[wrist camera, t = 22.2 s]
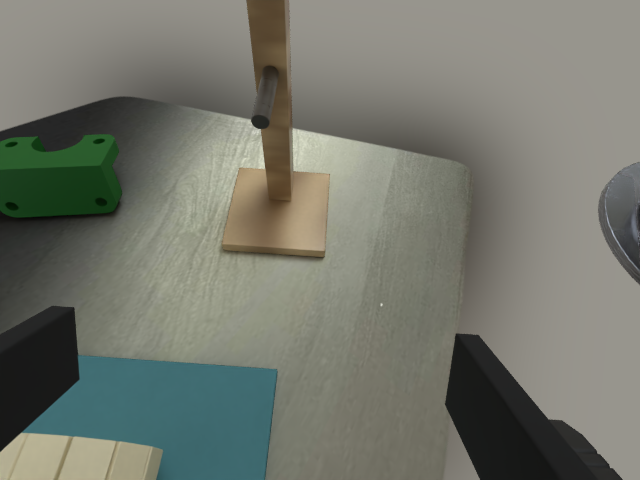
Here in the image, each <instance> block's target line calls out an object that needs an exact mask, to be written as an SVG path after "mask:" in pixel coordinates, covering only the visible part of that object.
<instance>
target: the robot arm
mask: <svg viewBox="0 0 640 480" xmlns="http://www.w3.org/2000/svg"><path fill="white" fill-rule="evenodd" d="M79 380H80V376H79V363H78V350H77V337H76V324H75V311H74V307H60V306H51V307H49V308H47V309H46V310H44V311H42V312H40V313H38V314H37V315H35V316H33V317H31V318H29V319H28V320H26V321H24V322H22V323H20V324H19V325H17V326H15V327H13V328H11V329H10V330H8V331H6V332H4V333H2V334H1V335H0V452H1V451H2V450H3V449H4V448H5V447H6V446H7V445H8V444H10V443H11V442H12V441H13V440H14V439H15V438H16V437H17V436H18V435H19V434H21V433H22V432H23V431H24V430H25V429H26V428H27V427H28V426H29V425H30V424H31V423H33V422H34V421H35V420H36V419H37V418H38V417H39V416H40V415H41V414H42V413H43V412H45V411H46V410H47V409H48V408H49V407H50V406H51V405H52V404H53V403H54V402H56V401H57V400H58V399H59V398H60V397H61V396H62V395H63V394H64V393H65V392H66V391H68V390H69V389H70V388H71V387H72V386H73V385H74V384H75V383H76V382H77V381H79ZM445 405H446V408H447V410H448V412H449V414H450V416H451V418H452V420H453V422H454V425H455V427H456V429H457V431H458V433H459V435H460V437H461V439H462V442H463V444H464V446H465V448H466V450H467V452H468V455H469V457H470V459H471V461H472V463H473V465H474V467H475V470H476V472H477V474H478V476H479V478H480V480H622V478H621V477H620V476H619V475H618V474H617V473H616V472H615V470H614V469H612V468H610V466H609V464H608V463H607V462H606V461H605V459H604V458H603V457H602V456H601V455H600V454H597V451H596V449H594V447H593V446H592V445H591V444H590V443H589V442H588V441H587V440H586V438H585V437H584V436H583V435H582V434H580V433H579V432H578V431H576V430H575V429H573V428H572V427H570V426H569V425H568V424H566V423H565V422H563V421H562V420H548V419H547V417H546V416H545V415H544V414H543V413H542V411H541V410H540V409H539V408H538V406H537V405H536V404H535V403H534V402H533V400H532V399H531V398H530V397H529V396H528V394H527V393H526V392H525V391H524V390H523V388H522V387H521V386H520V385H519V384H518V382H517V381H516V380H515V379H514V377H513V376H512V375H511V374H510V373H509V371H508V370H507V369H506V368H505V367H504V365H503V364H502V363H501V362H500V361H499V359H498V358H497V357H496V356H495V355H494V354H493V352H492V351H491V350H490V349H489V347H488V346H487V345H486V344H485V342H484V341H483V340H482V339H481V338H480V336H479V335H471V334H456V336H455V343H454V349H453V356H452V363H451V369H450V376H449V382H448V389H447V396H446V402H445Z"/></svg>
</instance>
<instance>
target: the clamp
mask: <svg viewBox="0 0 640 480" xmlns="http://www.w3.org/2000/svg"><path fill="white" fill-rule="evenodd" d="M118 153H119V149H118V146H117V144H116V141H115V138H114V137H113V136H112V135H107V134H101V135H84V138H83V139H82V140H81V141H80V142H79V143H78V144H76V145H74V146H72V147H70V148H67V149H64V150H60V151H55V152H46V151H45V149H44V147H43V145H42V143H41V141H40V139H39V137H17V138H10V139H7V140H4V141H2V142H0V211H1V212H2V213H4V214H6V215H8V216H11V217H17V218H20V217H39V216H58V215H77V214H97V213H109V212H112V211H114V210H115V208H116V206H117V204H118V202H119V199H120V197H121V195H122V190H121V187H120V185H119V182H118V180H117V177H116V175H115V173H114V170H113V168H112V165H113V163H114V161H115V159H116V157H117V155H118Z"/></svg>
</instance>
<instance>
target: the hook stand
mask: <svg viewBox="0 0 640 480" xmlns="http://www.w3.org/2000/svg"><path fill="white" fill-rule="evenodd" d="M247 10H248V19H249V27H250V36H251V44H252V53H253V62H254V72H255V81H256V90H257V97H256V102H255V106H254V110H253V114H252V119H251V122H252V124H253V126H254V127H256V128H258V129H261V134H262V143H263V152H264V161H265V169H253V168H239V171H238V175H237V179H236V184H235V188H234V192H233V197H232V201H231V205H230V210H229V214H228V218H227V223H226V227H225V231H224V236H223V240H222V246H223V249H224V250H229V251H243V252H257V253H271V254H285V255H299V256H313V257H325V244H326V228H327V212H328V195H329V179H330V174H323V173H309V172H295V171H293V135H292V96H291V56H290V20H289V19H290V18H289V0H247Z"/></svg>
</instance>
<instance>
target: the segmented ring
mask: <svg viewBox="0 0 640 480" xmlns="http://www.w3.org/2000/svg"><path fill="white" fill-rule="evenodd" d="M162 454H163V450H162V449H159V448H155V447H152V446H147V445H140V444H134V443H127V442H119V441H112V440H103V439H94V438H85V437H76V436H75V437H71V436H63V435H49V434H35V433H21V434H19V435H18V436H17V437H16V438H15V439H14V440H13V441H12V442H11V443H10V444H8V445H7V446H6V447H5V448H4V449H3V450H2V451H1V452H0V480H156V478H157V474H158V470H159V466H160V462H161V458H162Z"/></svg>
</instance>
